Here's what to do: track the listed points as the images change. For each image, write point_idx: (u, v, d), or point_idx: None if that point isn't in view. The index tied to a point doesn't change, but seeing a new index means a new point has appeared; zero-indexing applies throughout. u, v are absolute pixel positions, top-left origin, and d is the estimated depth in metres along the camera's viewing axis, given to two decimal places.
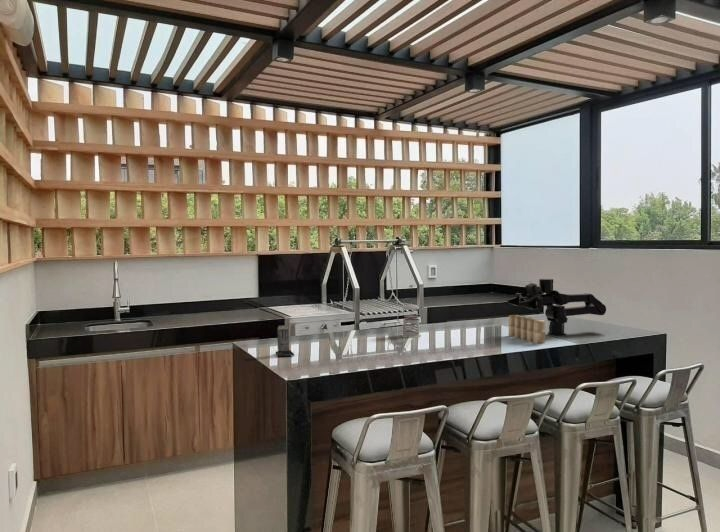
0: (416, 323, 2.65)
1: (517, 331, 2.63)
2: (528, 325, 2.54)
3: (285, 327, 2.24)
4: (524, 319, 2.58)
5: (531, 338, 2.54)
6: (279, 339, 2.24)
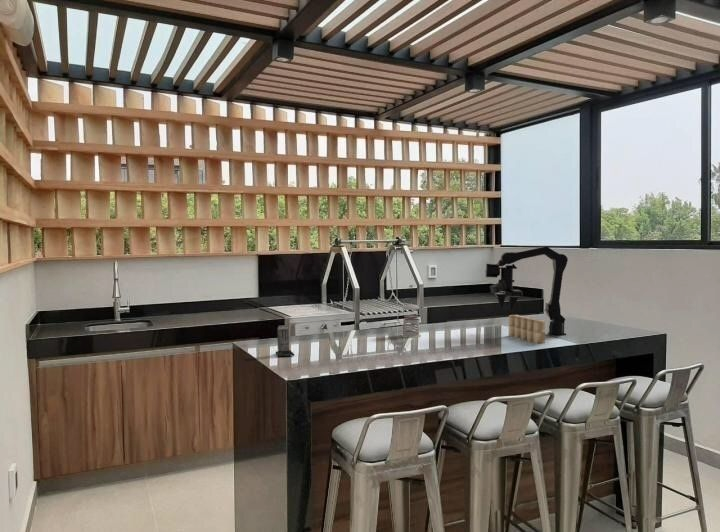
0: (416, 323, 2.65)
1: (517, 331, 2.63)
2: (528, 325, 2.54)
3: (285, 327, 2.24)
4: (524, 319, 2.58)
5: (531, 338, 2.54)
6: (279, 339, 2.24)
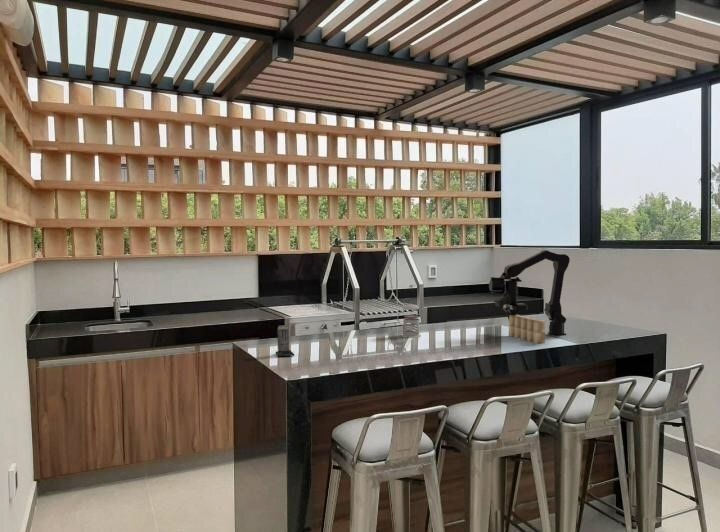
0: (416, 323, 2.65)
1: (517, 331, 2.63)
2: (528, 325, 2.54)
3: (285, 327, 2.24)
4: (524, 319, 2.58)
5: (531, 338, 2.54)
6: (279, 339, 2.24)
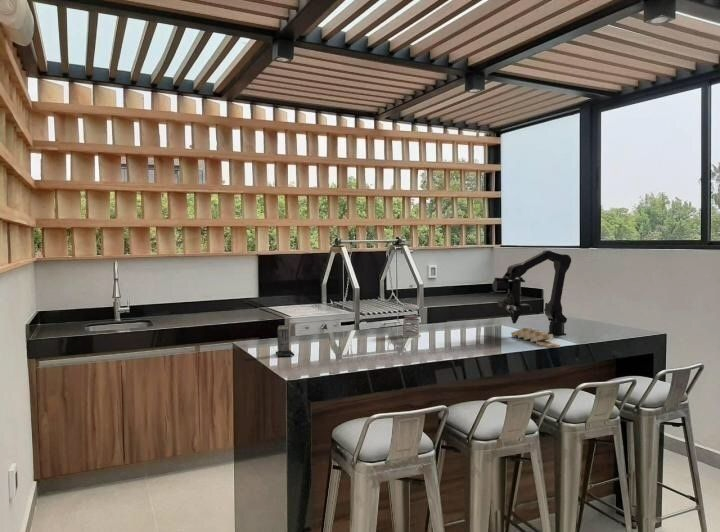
0: (416, 323, 2.65)
1: (522, 336, 2.59)
2: (540, 338, 2.45)
3: (285, 327, 2.24)
4: None
5: (534, 341, 2.51)
6: (279, 339, 2.24)
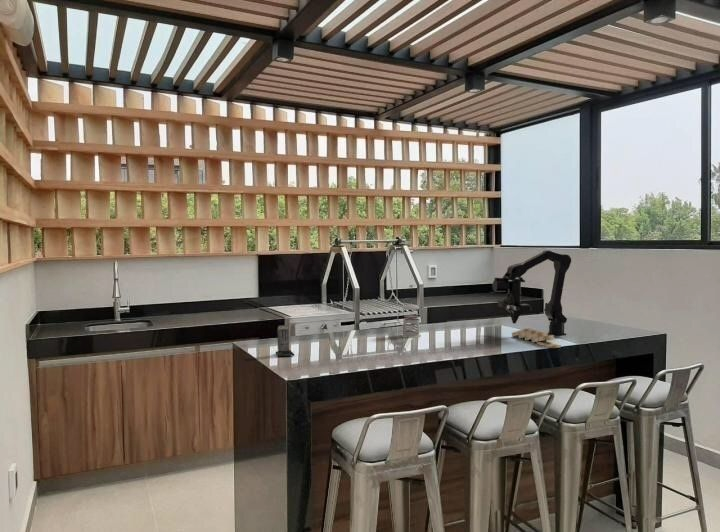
0: (416, 323, 2.65)
1: (523, 337, 2.58)
2: (540, 339, 2.44)
3: (285, 327, 2.24)
4: (538, 336, 2.48)
5: None
6: (279, 339, 2.24)
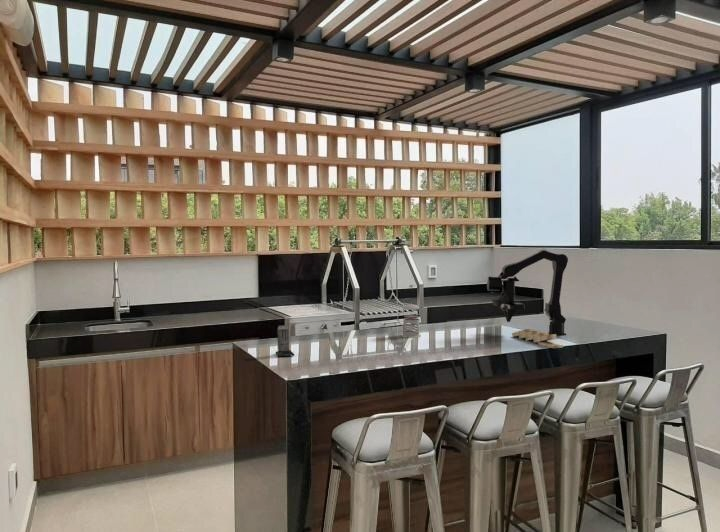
0: (416, 323, 2.65)
1: (524, 337, 2.58)
2: (543, 338, 2.43)
3: (285, 327, 2.24)
4: None
5: None
6: (279, 339, 2.24)
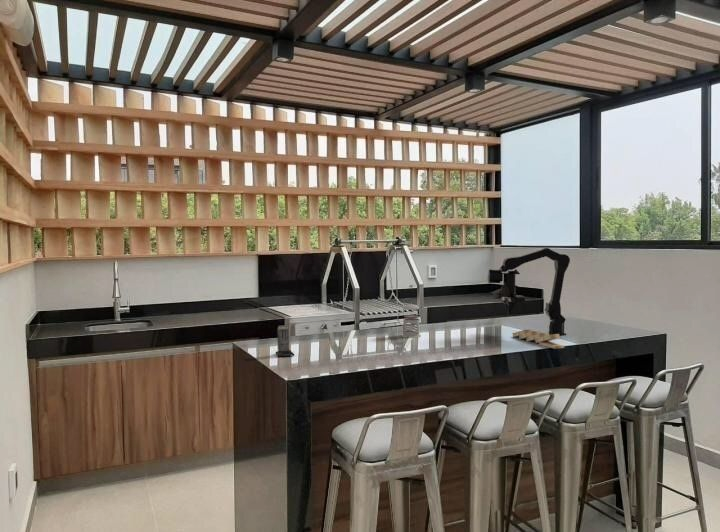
0: (416, 323, 2.65)
1: (524, 337, 2.57)
2: (546, 338, 2.42)
3: (285, 327, 2.24)
4: None
5: None
6: (279, 339, 2.24)
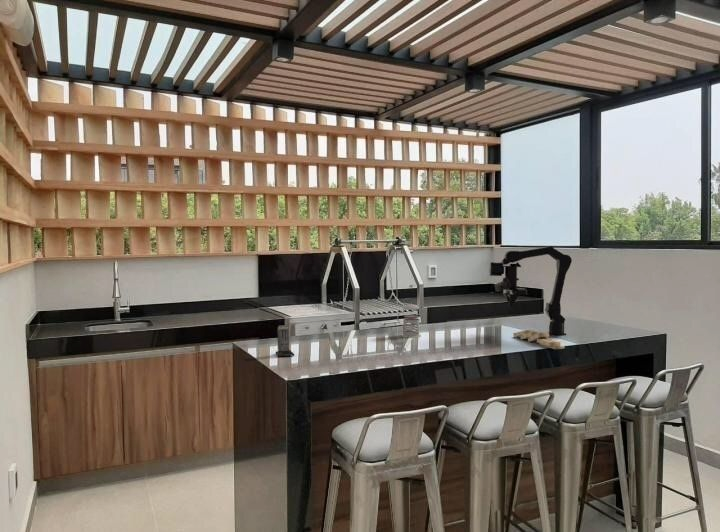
0: (416, 323, 2.65)
1: (525, 338, 2.56)
2: (546, 343, 2.39)
3: (285, 327, 2.24)
4: (540, 337, 2.44)
5: None
6: (279, 339, 2.24)
